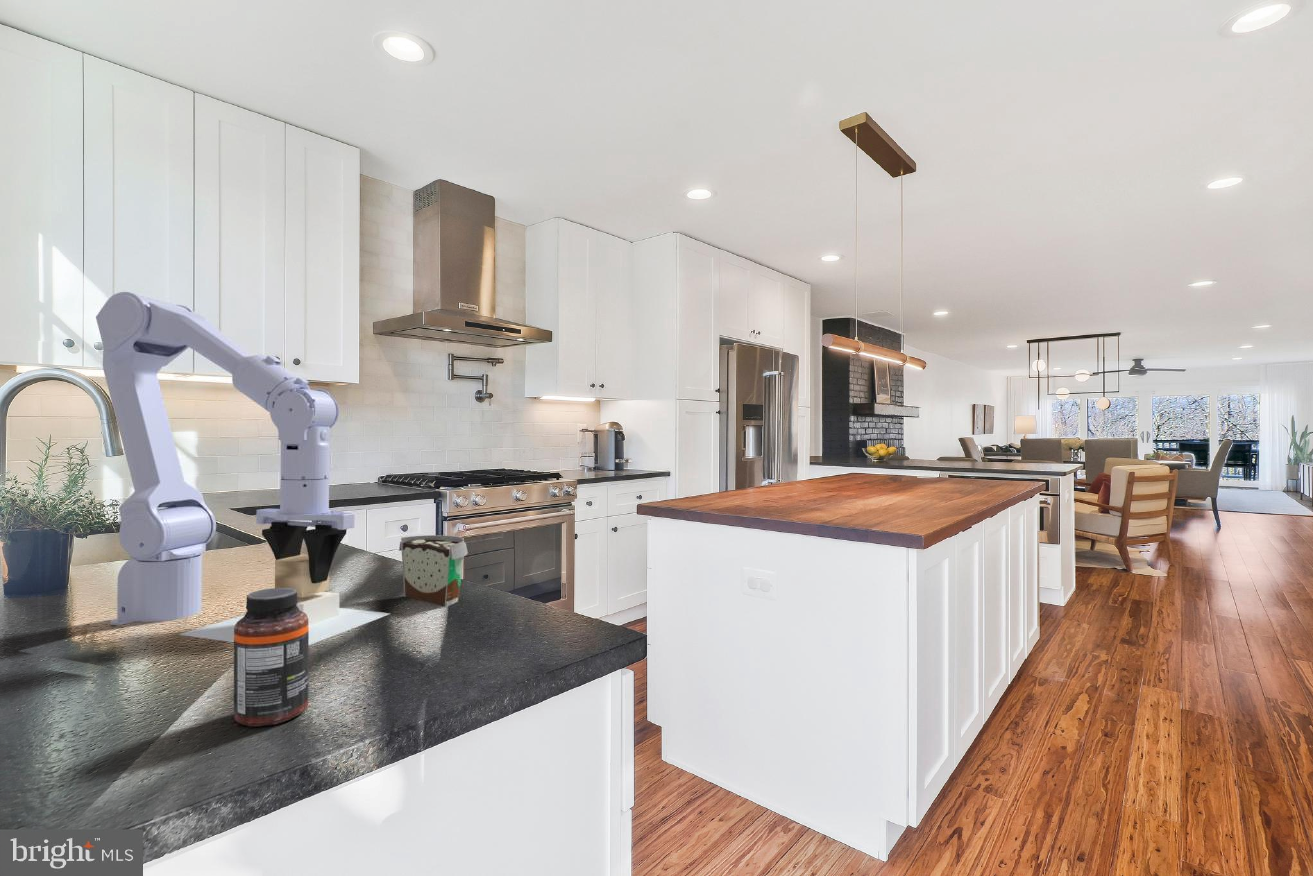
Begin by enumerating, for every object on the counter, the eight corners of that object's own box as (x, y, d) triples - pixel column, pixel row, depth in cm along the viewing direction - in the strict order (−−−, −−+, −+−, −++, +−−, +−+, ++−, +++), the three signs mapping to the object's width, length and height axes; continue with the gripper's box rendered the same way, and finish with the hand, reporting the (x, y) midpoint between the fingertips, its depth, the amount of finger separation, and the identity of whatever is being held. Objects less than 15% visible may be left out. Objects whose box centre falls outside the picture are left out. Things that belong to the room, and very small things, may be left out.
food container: (484, 605, 97) (485, 539, 97) (452, 614, 92) (452, 545, 92) (431, 593, 104) (432, 532, 103) (398, 602, 98) (399, 537, 98)
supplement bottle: (255, 702, 61) (256, 584, 61) (319, 700, 62) (321, 584, 62) (218, 730, 55) (219, 600, 55) (289, 728, 56) (291, 600, 56)
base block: (266, 623, 83) (266, 600, 83) (304, 611, 89) (304, 589, 89) (303, 627, 81) (303, 604, 81) (339, 615, 87) (339, 593, 87)
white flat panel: (178, 642, 78) (178, 634, 78) (288, 609, 94) (288, 602, 94) (294, 659, 73) (294, 650, 73) (390, 620, 88) (390, 613, 88)
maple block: (274, 594, 83) (275, 560, 83) (302, 587, 88) (303, 554, 88) (302, 597, 82) (302, 562, 82) (329, 589, 86) (329, 556, 86)
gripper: (236, 479, 83) (235, 582, 83) (325, 482, 79) (324, 591, 79) (282, 475, 90) (281, 571, 90) (366, 479, 86) (365, 579, 86)
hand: (304, 580), depth 85 cm, fingers closed on maple block, 4 cm apart
